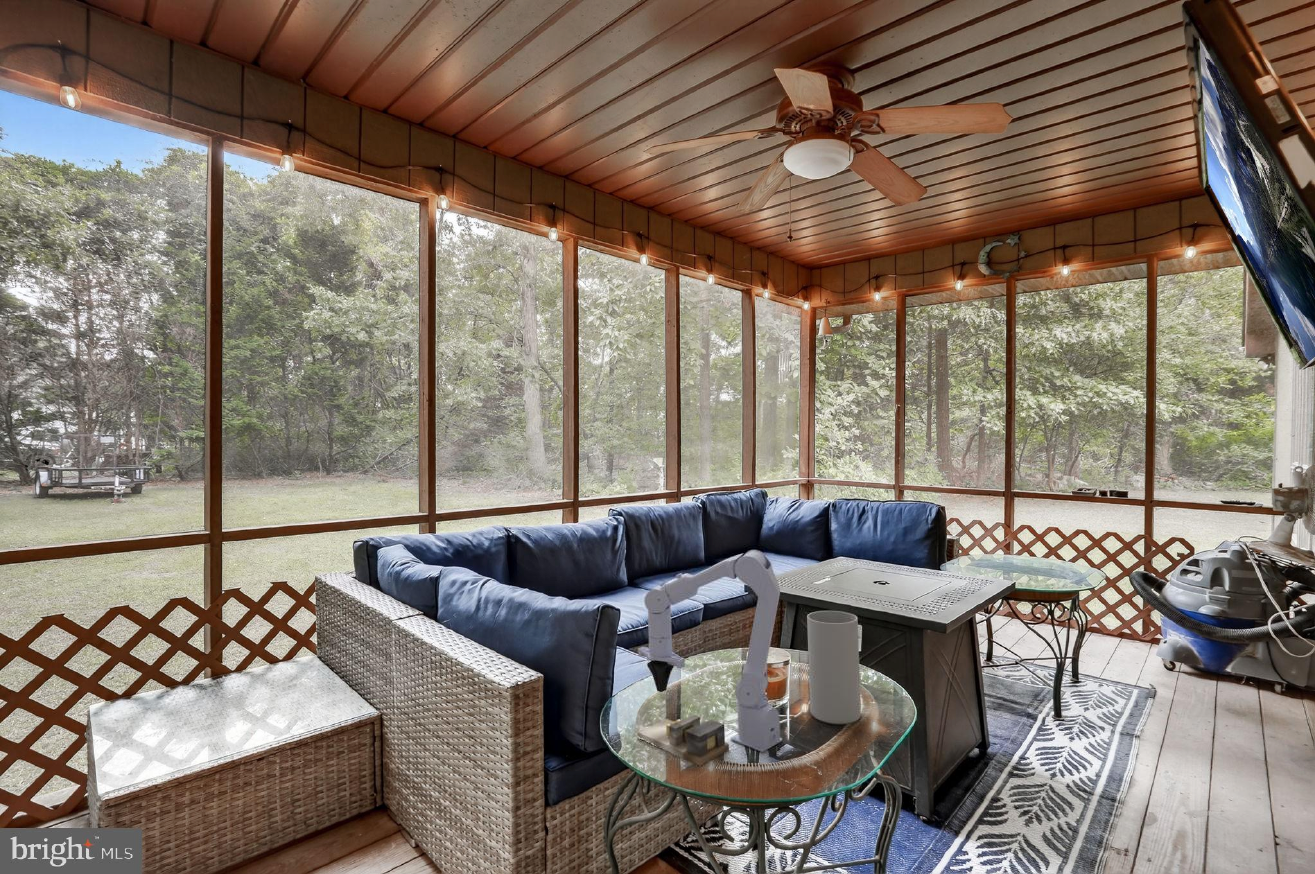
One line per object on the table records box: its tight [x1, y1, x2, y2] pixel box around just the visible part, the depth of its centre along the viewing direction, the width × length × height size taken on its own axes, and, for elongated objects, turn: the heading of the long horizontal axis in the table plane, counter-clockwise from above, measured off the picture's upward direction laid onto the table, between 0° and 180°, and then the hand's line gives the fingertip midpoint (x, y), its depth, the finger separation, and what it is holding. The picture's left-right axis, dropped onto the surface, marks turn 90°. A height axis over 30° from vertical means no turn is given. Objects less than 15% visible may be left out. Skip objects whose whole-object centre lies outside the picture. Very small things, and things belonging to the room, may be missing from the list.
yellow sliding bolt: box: [666, 718, 716, 751], centre depth 148 cm, size 12×4×2 cm, turn 44°
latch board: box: [637, 714, 730, 767], centre depth 151 cm, size 20×10×6 cm, turn 44°
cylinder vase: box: [806, 610, 862, 725], centre depth 164 cm, size 12×12×25 cm
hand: (661, 690), depth 159 cm, fingers closed
